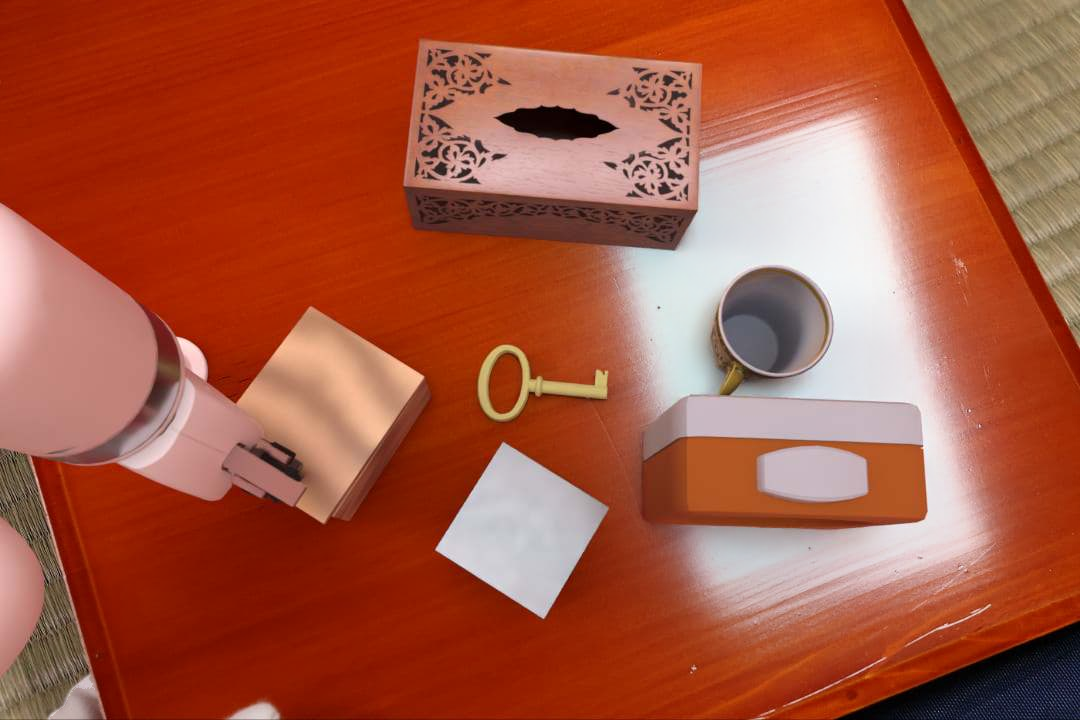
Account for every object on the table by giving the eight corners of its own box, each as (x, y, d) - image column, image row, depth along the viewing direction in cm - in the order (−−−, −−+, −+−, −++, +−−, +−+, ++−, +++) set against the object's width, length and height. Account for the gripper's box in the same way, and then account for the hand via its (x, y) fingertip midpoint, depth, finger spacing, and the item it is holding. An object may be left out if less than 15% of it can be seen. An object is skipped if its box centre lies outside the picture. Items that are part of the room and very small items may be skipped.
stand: (529, 601, 77) (544, 620, 53) (453, 553, 78) (434, 550, 53) (575, 523, 79) (610, 507, 55) (500, 477, 80) (502, 440, 55)
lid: (325, 525, 69) (315, 517, 64) (205, 448, 70) (187, 435, 65) (425, 379, 73) (423, 361, 69) (311, 308, 74) (301, 286, 69)
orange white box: (640, 523, 79) (688, 511, 59) (640, 428, 81) (687, 386, 61) (838, 530, 80) (952, 520, 60) (834, 436, 82) (943, 396, 62)
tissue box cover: (413, 229, 85) (403, 185, 75) (428, 96, 88) (419, 38, 78) (675, 250, 85) (697, 210, 76) (679, 118, 89) (701, 63, 79)
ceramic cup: (728, 279, 85) (758, 242, 75) (813, 337, 84) (855, 307, 74) (655, 383, 82) (676, 360, 72) (743, 444, 81) (776, 429, 72)
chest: (349, 521, 78) (333, 517, 70) (243, 453, 79) (216, 442, 71) (432, 395, 81) (425, 378, 73) (329, 331, 82) (312, 308, 74)
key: (612, 400, 82) (615, 396, 80) (484, 427, 81) (483, 423, 78) (595, 328, 83) (597, 322, 81) (469, 353, 82) (468, 348, 80)
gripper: (-141, 340, 36) (59, 409, 53) (196, 561, 35) (293, 561, 52) (-22, 200, 38) (136, 310, 55) (304, 406, 37) (364, 454, 53)
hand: (212, 432), depth 53 cm, fingers open, 9 cm apart
